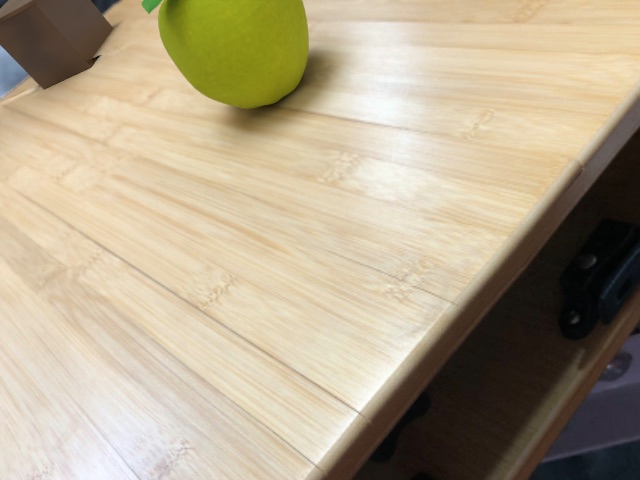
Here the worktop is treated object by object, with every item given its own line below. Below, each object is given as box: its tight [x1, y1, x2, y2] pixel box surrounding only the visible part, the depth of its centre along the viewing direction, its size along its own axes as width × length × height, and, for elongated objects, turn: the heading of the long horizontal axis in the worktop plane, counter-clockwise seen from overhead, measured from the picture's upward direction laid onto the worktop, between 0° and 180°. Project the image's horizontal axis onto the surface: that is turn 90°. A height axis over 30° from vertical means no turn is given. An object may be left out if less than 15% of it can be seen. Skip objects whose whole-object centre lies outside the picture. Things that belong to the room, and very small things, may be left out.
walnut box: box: [0, 0, 114, 90], centre depth 70 cm, size 8×8×8 cm
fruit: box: [141, 0, 310, 109], centre depth 41 cm, size 9×9×10 cm
